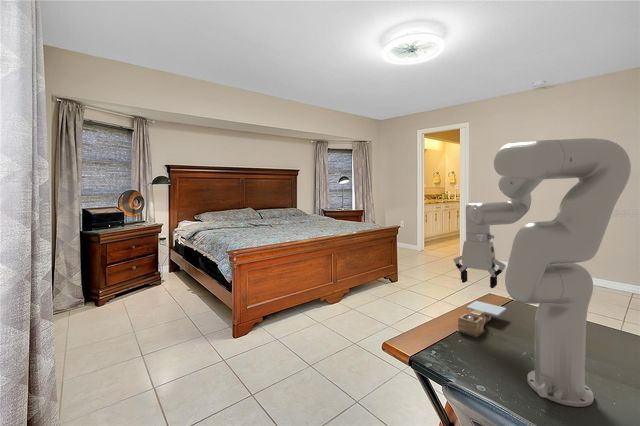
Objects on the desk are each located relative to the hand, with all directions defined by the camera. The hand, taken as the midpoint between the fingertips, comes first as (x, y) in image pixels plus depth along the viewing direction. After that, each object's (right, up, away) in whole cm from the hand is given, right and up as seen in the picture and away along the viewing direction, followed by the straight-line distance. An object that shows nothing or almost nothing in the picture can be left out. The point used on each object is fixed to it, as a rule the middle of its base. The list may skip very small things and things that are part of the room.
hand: (478, 284), depth 106 cm
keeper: (+7, -15, +7) cm, 18 cm away
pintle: (-4, -16, -3) cm, 16 cm away
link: (0, -15, +1) cm, 15 cm away
